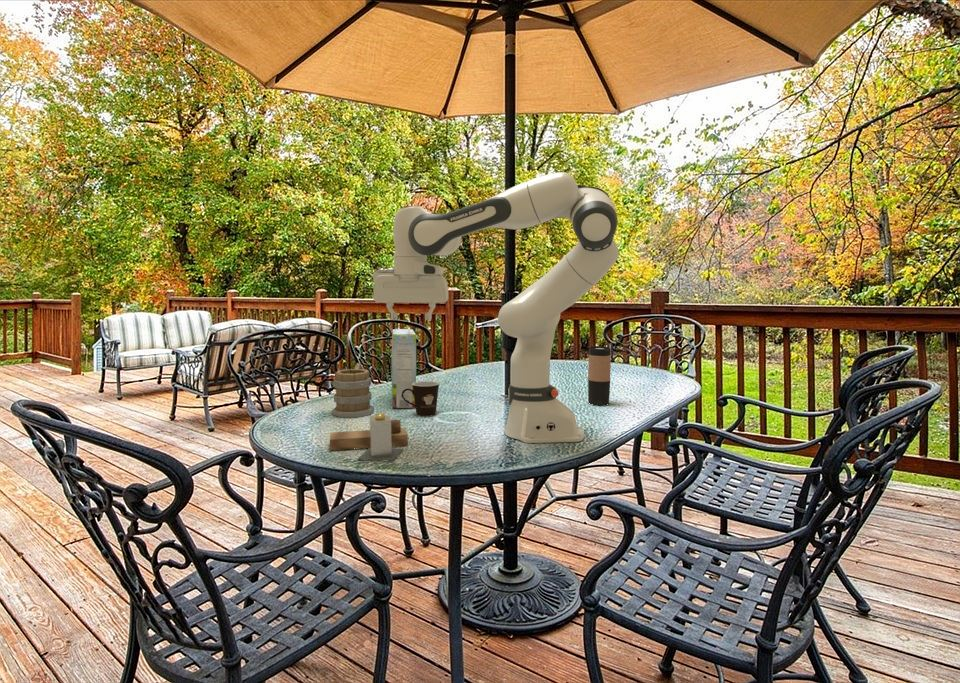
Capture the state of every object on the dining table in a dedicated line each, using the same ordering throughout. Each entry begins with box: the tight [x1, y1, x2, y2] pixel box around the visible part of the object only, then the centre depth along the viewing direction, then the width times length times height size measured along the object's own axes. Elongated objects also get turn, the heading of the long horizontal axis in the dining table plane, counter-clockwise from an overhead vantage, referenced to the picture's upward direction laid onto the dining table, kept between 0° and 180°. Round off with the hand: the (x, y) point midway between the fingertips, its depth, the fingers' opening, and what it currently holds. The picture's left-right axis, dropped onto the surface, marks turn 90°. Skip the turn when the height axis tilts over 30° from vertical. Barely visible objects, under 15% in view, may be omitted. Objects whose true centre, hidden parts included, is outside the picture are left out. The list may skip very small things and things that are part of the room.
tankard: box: [331, 362, 375, 419], centre depth 187 cm, size 20×13×15 cm, turn 179°
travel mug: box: [587, 345, 612, 406], centre depth 196 cm, size 8×8×20 cm
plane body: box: [329, 419, 409, 451], centre depth 149 cm, size 20×7×6 cm, turn 103°
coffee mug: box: [402, 380, 440, 417], centre depth 183 cm, size 12×9×10 cm
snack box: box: [391, 328, 417, 409], centre depth 199 cm, size 22×9×26 cm, turn 9°
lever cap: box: [369, 413, 393, 457], centre depth 140 cm, size 5×5×10 cm
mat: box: [357, 447, 404, 462], centre depth 141 cm, size 9×9×1 cm
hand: (411, 319), depth 152 cm, fingers open, 8 cm apart
